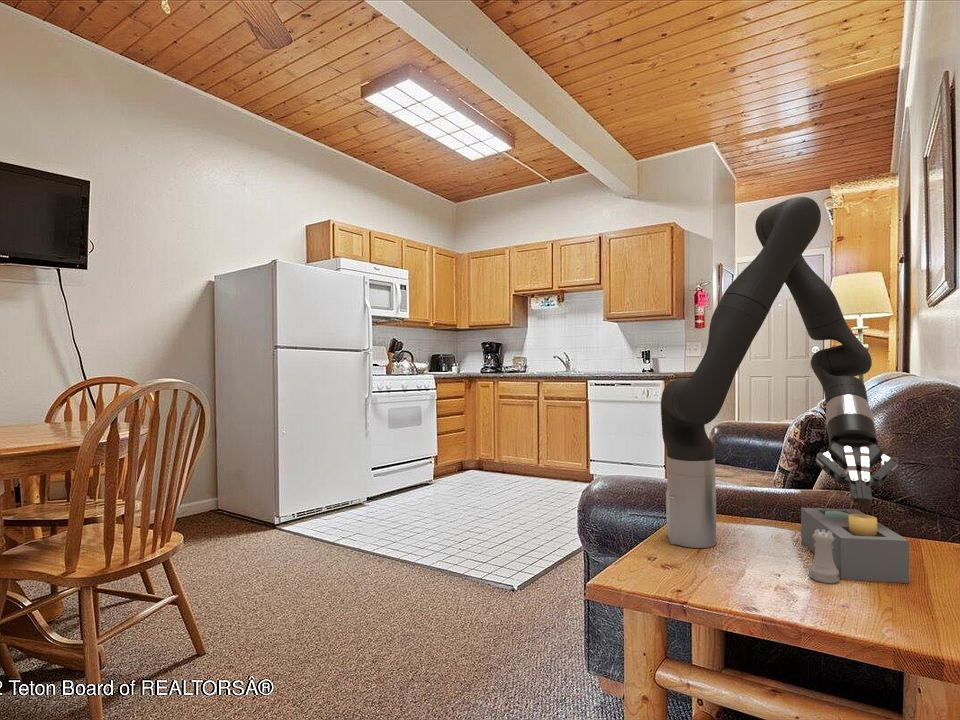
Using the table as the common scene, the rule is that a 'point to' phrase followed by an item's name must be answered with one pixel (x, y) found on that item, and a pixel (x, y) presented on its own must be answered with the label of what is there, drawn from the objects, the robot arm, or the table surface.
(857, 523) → the amber button
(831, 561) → the rook chess piece
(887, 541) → the console
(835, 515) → the teal button
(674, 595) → the table surface
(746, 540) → the table surface
